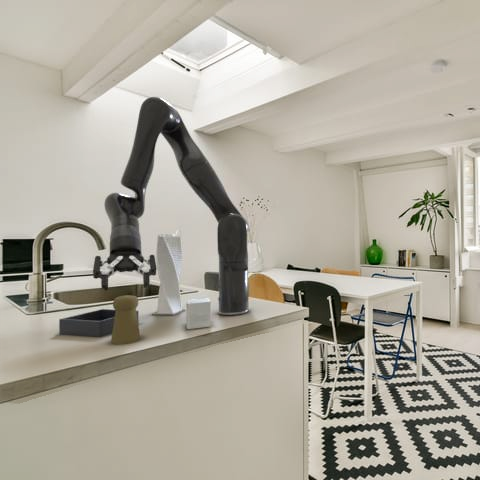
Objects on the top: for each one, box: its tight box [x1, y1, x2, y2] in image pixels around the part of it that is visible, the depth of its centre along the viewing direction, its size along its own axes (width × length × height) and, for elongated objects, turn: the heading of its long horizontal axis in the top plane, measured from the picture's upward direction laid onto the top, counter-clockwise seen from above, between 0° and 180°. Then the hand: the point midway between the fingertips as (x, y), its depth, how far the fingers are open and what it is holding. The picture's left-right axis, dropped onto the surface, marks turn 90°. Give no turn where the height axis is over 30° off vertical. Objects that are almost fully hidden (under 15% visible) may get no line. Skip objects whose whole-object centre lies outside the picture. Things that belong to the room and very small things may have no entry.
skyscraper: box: [151, 228, 186, 316], centre depth 110 cm, size 8×8×28 cm
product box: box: [185, 297, 212, 330], centre depth 96 cm, size 6×6×7 cm
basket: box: [58, 308, 140, 338], centre depth 92 cm, size 12×12×4 cm
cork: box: [110, 294, 141, 345], centre depth 82 cm, size 6×6×11 cm
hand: (126, 287), depth 89 cm, fingers open, 8 cm apart
